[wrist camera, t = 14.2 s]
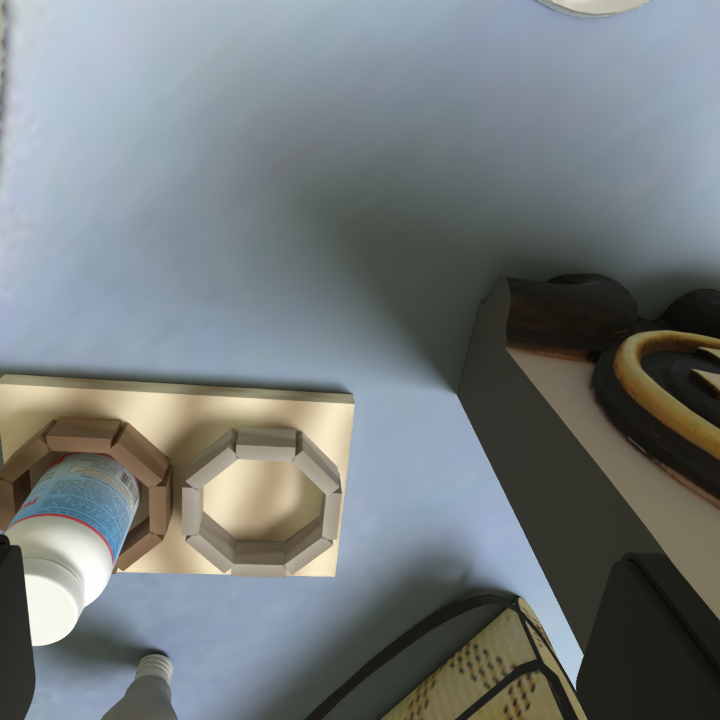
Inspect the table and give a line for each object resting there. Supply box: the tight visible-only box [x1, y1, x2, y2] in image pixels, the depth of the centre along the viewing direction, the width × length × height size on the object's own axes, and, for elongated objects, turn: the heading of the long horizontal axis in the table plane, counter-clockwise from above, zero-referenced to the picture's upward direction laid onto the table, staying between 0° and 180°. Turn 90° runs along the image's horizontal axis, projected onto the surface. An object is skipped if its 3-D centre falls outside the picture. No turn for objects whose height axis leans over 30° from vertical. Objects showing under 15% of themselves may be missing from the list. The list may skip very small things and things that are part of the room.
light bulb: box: [101, 654, 178, 720], centre depth 45 cm, size 6×6×10 cm
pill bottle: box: [4, 452, 142, 646], centre depth 36 cm, size 6×6×11 cm
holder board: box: [0, 374, 355, 577], centre depth 41 cm, size 22×14×4 cm, turn 84°
